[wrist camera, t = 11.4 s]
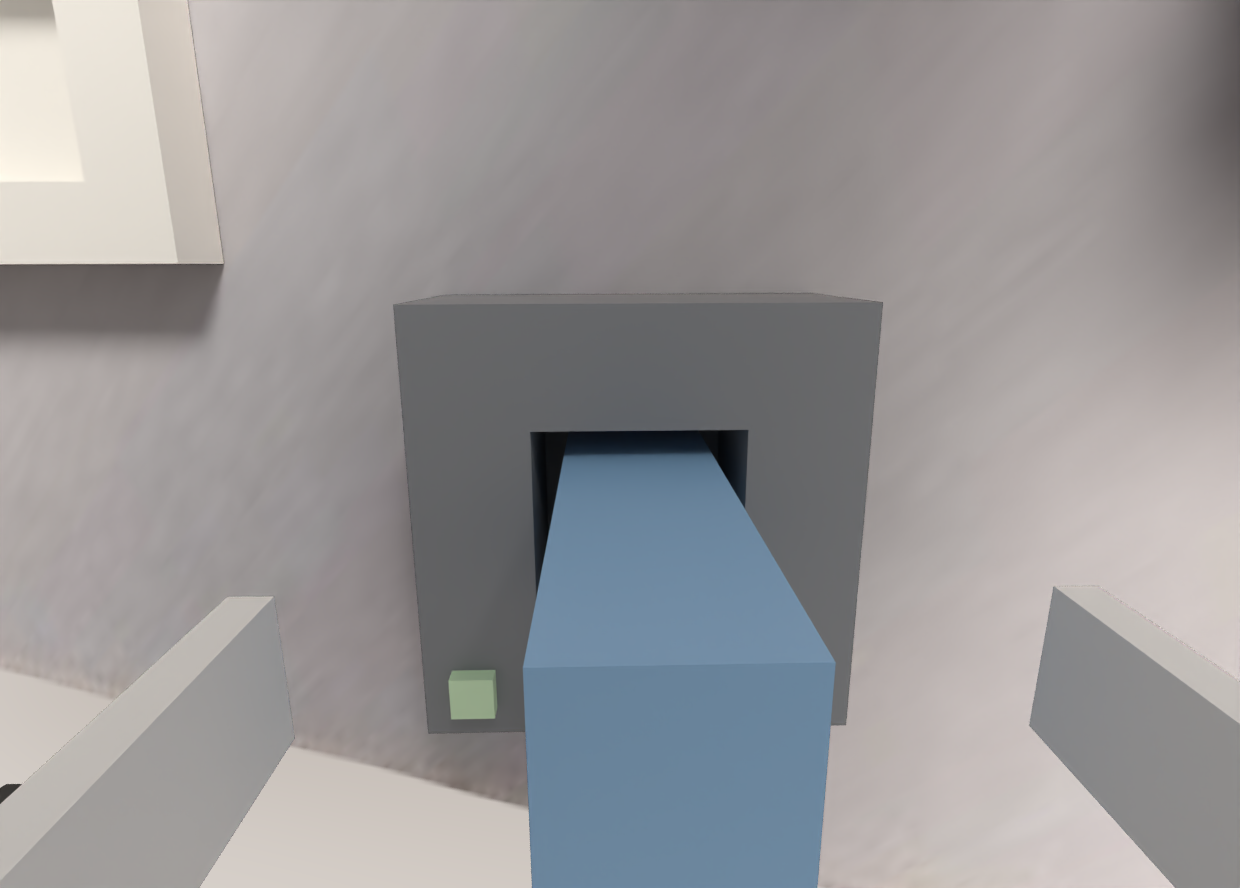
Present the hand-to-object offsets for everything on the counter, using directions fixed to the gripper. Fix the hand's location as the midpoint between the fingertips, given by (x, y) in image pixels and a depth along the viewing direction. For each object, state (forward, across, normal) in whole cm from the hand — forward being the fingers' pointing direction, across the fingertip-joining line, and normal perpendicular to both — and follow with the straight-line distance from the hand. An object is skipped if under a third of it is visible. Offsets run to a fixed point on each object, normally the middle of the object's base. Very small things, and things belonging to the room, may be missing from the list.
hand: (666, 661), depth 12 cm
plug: (+11, 0, -1) cm, 11 cm away
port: (+13, 0, -1) cm, 13 cm away
